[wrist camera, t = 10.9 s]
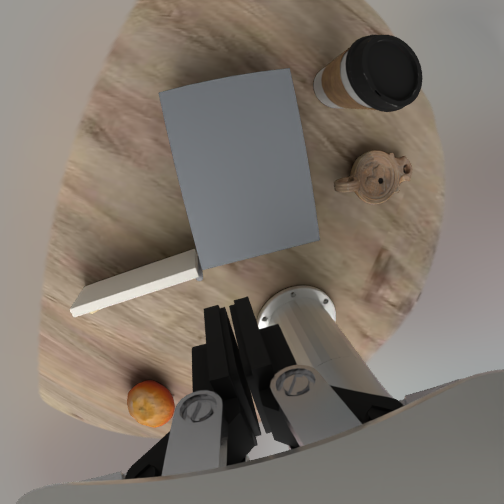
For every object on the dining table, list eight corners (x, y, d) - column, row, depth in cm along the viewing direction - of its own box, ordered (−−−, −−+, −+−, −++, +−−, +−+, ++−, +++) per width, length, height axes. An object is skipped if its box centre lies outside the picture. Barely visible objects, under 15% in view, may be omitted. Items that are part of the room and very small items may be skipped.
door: (197, 247, 42) (198, 266, 36) (203, 262, 43) (205, 283, 36) (84, 286, 41) (69, 309, 34) (90, 299, 42) (77, 323, 35)
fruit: (162, 421, 50) (142, 439, 42) (136, 387, 51) (112, 401, 44) (193, 401, 49) (175, 419, 41) (164, 365, 51) (142, 378, 43)
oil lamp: (399, 145, 42) (419, 147, 38) (403, 193, 45) (423, 199, 40) (321, 155, 41) (337, 157, 36) (328, 208, 44) (344, 216, 39)
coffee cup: (291, 89, 37) (341, 65, 23) (327, 47, 36) (385, 14, 22) (338, 129, 40) (403, 128, 26) (370, 87, 38) (439, 74, 25)
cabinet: (301, 225, 44) (319, 240, 37) (201, 249, 42) (202, 270, 36) (274, 79, 36) (289, 68, 30) (165, 101, 35) (158, 92, 29)
